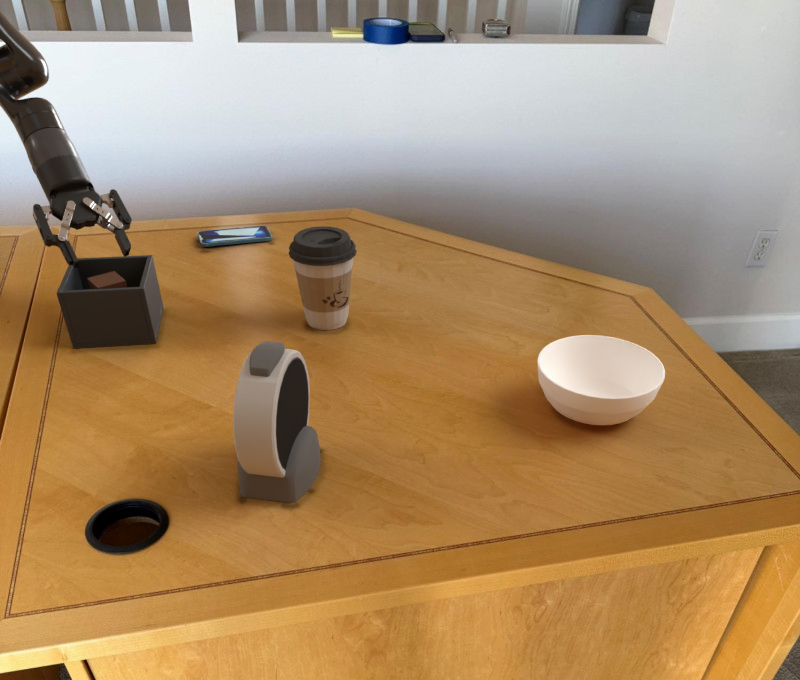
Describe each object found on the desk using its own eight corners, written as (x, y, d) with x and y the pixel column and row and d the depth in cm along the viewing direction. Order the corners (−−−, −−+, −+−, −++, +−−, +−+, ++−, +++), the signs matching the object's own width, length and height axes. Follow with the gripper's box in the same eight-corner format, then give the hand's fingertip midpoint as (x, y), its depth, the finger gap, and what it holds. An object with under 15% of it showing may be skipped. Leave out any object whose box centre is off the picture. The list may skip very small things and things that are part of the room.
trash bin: (73, 348, 129) (56, 293, 123) (86, 311, 139) (71, 258, 133) (156, 343, 131) (143, 288, 124) (163, 307, 141) (152, 254, 134)
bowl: (509, 390, 120) (514, 348, 115) (607, 367, 126) (616, 326, 121) (573, 454, 108) (582, 410, 103) (679, 425, 113) (692, 382, 108)
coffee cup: (320, 342, 131) (314, 256, 121) (282, 319, 137) (273, 235, 127) (372, 322, 137) (370, 237, 127) (332, 300, 143) (328, 218, 133)
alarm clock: (301, 513, 98) (288, 389, 86) (224, 504, 99) (201, 380, 87) (332, 441, 110) (324, 322, 98) (263, 433, 111) (247, 315, 99)
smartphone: (273, 237, 163) (201, 244, 160) (273, 241, 164) (202, 248, 160) (266, 224, 169) (196, 231, 165) (266, 229, 169) (197, 235, 165)
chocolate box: (109, 332, 132) (97, 288, 126) (98, 322, 135) (86, 277, 129) (136, 324, 134) (126, 280, 129) (125, 314, 137) (114, 270, 131)
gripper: (13, 161, 119) (60, 259, 120) (103, 146, 125) (147, 239, 126) (13, 187, 125) (57, 280, 126) (98, 172, 132) (140, 260, 133)
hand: (102, 259), depth 126 cm, fingers open, 8 cm apart
